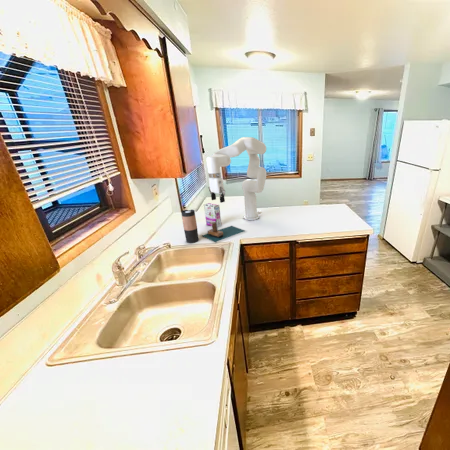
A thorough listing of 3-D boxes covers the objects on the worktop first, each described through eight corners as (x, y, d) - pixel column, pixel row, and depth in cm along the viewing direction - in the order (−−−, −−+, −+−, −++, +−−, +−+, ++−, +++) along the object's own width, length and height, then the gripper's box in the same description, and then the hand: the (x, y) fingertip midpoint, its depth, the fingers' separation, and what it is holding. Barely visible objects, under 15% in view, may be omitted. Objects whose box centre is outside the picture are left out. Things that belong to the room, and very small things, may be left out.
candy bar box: (222, 225, 179) (219, 204, 174) (217, 227, 175) (214, 206, 169) (211, 223, 184) (208, 202, 178) (206, 225, 180) (203, 204, 174)
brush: (212, 233, 163) (211, 220, 160) (223, 236, 159) (221, 223, 155) (208, 235, 160) (206, 222, 156) (218, 238, 155) (217, 225, 152)
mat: (231, 226, 178) (231, 225, 178) (245, 231, 169) (245, 230, 169) (202, 236, 160) (202, 235, 160) (216, 242, 151) (216, 241, 151)
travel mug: (190, 244, 148) (186, 213, 141) (183, 241, 152) (178, 211, 145) (201, 240, 154) (197, 210, 147) (194, 237, 158) (189, 208, 151)
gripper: (227, 176, 153) (230, 201, 159) (212, 173, 162) (215, 197, 169) (217, 178, 147) (221, 204, 154) (202, 175, 157) (205, 200, 163)
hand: (218, 200), depth 161 cm, fingers open, 9 cm apart
